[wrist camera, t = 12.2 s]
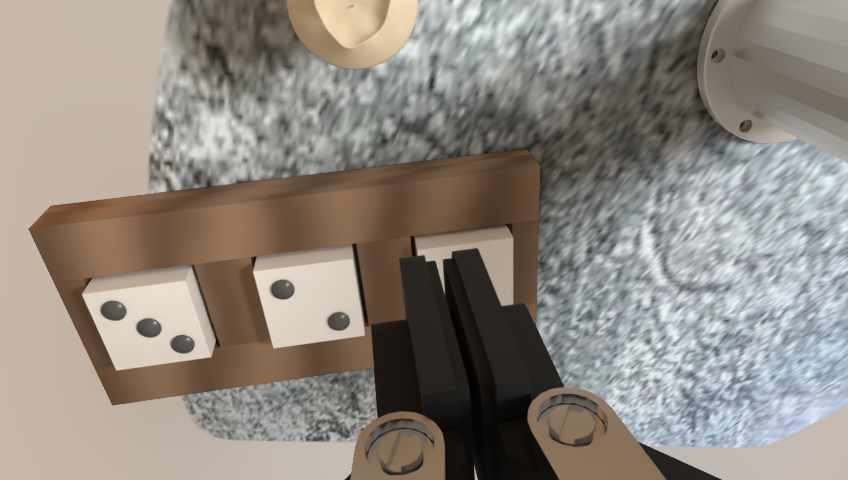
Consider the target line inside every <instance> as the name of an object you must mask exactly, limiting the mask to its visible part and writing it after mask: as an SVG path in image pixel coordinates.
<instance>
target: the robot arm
mask: <svg viewBox="0 0 848 480" xmlns="http://www.w3.org/2000/svg"><path fill="white" fill-rule="evenodd" d="M697 81H698V87H699V92H700V96H701V98H702V101H703V103H704V106H705V108H706V110H707V111H708V113H709V114H710V115H711V117H712V118H713V119H714V120H715V122H717V123H718V124H719V125H720V126H722V127H723V128H724V129H725V130H727V131H728V132H730V133H732V134H734V135H735V136H737V137H739V138H742V139H745V140H748V141H752V142H755V143H769V144H773V143H781V142H788V141H792V140H795V139H800V140H802V141H804V142H806V143H808V144H810V145H812V146H814V147H816V148H818V149H820V150H822V151H824V152H826V153H828V154H830V155H832V156H834V157H836V158H838V159H840V160H842V161H844V162H846V163H848V0H719V1H718V3H717V5H716V6H715V8H714V10H713V12H712V14H711V16H710V17H709V19H708V22H707V25H706V28H705V30H704V33H703V36H702V38H701V43H700V48H699V53H698V58H697ZM451 257H452V258H450V259H443V273H444V287H445V294H444V290H443V286H442V283H441V279H440V275H439V272H438V268H437V264H436V261H427V262H426V259H425V255H421V256H413V257H406V258H399V264H400V272H401V281H402V290H403V298H404V307H405V315H406V319H405V320H398V321H390V322H383V323H376V324H371V335H372V348H373V361H374V375H375V388H376V401H377V415H378V418H377V419H376V420H374V421H373V422H372V423H370V424H369V425H367V426H366V428H365V429H364V430H363V431H362V433H361V434H360V435H359V438H358V441H357V443H356V446H355V452H354V458H353V465H352V472H351V474H350V475H349V476H348V477H347V478H346V479H345V480H475V475H474V466H475V470H476V474H477V478H478V480H721V479H719V478H717V477H714V476H712V475H710V474H708V473H706V472H704V471H701V470H699V469H697V468H695V467H693V466H690V465H688V464H686V463H683V462H682V461H679V460H677V459H675V458H673V457H670V456H668V455H666V454H664V453H662V452H659V451H657V450H655V449H653V448H651V447H648V446H646V445H644V444H642V443H640V442H637V440H636V439H635V438H634V437H633V435H632V434H631V433H630V431H629V430H628V429H627V427H626V426H625V425H624V423H623V422H622V421H621V420H620V418H619V417H618V416H617V414H616V413H615V412H614V410H613V409H612V408H611V407H610V406H609V405H608V404H607V403H606V402H605V401H604V400H603V399H602V398H600V397H598V396H597V395H595V394H593V393H592V392H589V391H586V390H582V389H579V388H570V387H564V385H563V383H562V381H561V379H560V377H559V375H558V372H557V370H556V368H555V366H554V364H553V362H552V360H551V357H550V355H549V353H548V351H547V349H546V347H545V345H544V343H543V340H542V338H541V336H540V334H539V332H538V330H537V328H536V325H535V323H534V321H533V319H532V317H531V315H530V313H529V310H528V308H527V307H526V305H525V304H524V303H519V304H512V305H505V306H501V303H500V301H499V299H498V296H497V294H496V291H495V289H494V286H493V284H492V281H491V279H490V276H489V274H488V271H487V269H486V266H485V264H484V262H483V259H482V257H481V254H480V252H479V250H478V248H474V249H466V250H458V251H452V256H451Z"/></svg>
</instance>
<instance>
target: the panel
mask: <svg viewBox="0 0 848 480" xmlns="http://www.w3.org/2000/svg"><path fill="white" fill-rule="evenodd" d="M539 188H540V166H539V164H538V163H537V162H536V160H535V159H534V158H533V157H532V155H531V154H530V153H529V151H528V150H527V149H520V150H512V151H504V152H495V153H487V154H479V155H470V156H462V157H454V158H445V159H437V160H429V161H420V162H412V163H404V164H395V165H387V166H379V167H370V168H362V169H354V170H345V171H337V172H329V173H320V174H312V175H304V176H295V177H287V178H279V179H271V180H262V181H254V182H246V183H237V184H229V185H221V186H212V187H204V188H196V189H187V190H179V191H171V192H162V193H154V194H146V195H138V196H130V197H121V198H113V199H105V200H96V201H88V202H79V203H71V204H62V205H54V206H50V207H49V208H48V209H47V211H45V212H44V214H43V215H42V216H41V217H40V218H39V219H38V220H37V221H36V222H35V223H34V224H33V225H32V226H31V227H30V228H29V231H30V233H31V235H32V237H33V239H34V241H35V244H36V246H37V248H38V250H39V252H40V254H41V256H42V258H43V260H44V263H45V264H46V267H47V269H48V271H49V273H50V275H51V277H52V279H53V281H54V283H55V286H56V288H57V290H58V292H59V294H60V296H61V298H62V300H63V302H64V305H65V306H66V309H67V311H68V313H69V315H70V317H71V319H72V321H73V323H74V326H75V328H76V330H77V332H78V334H79V336H80V338H81V340H82V342H83V345H84V347H85V349H86V351H87V353H88V355H89V357H90V359H91V361H92V363H93V366H94V368H95V370H96V372H97V374H98V376H99V378H100V380H101V382H102V384H103V387H104V389H105V391H106V393H107V395H108V397H109V399H110V401H111V403H112V405H118V404H125V403H132V402H139V401H146V400H153V399H160V398H166V397H173V396H180V395H187V394H194V393H201V392H208V391H215V390H222V389H229V388H236V387H243V386H250V385H257V384H263V383H270V382H277V381H284V380H291V379H298V378H305V377H312V376H319V375H326V374H333V373H340V372H347V371H354V370H360V369H367V368H374V361H373V348H372V335H371V324H376V323H383V322H390V321H398V320H405V319H406V315H405V307H404V298H403V290H402V281H401V272H400V264H399V258H406V257H413V256H415V249H414V239H413V236H417V235H425V234H433V233H441V232H448V231H456V230H464V229H472V228H479V227H487V226H495V225H503V224H506V225H507V227H508V229H509V231H510V232H511V234H512V236H513V304H519V303H524V304H525V305H526V307H527V308H528V310H529V313H530V315H531V317H532V319H533V321H534V323H535V325H536V308H537V268H538V228H539ZM348 244H353V247H354V253H355V259H356V265H357V272H358V278H359V284H360V290H361V297H362V303H363V310H364V327H365V336H359V337H352V338H345V339H338V340H330V341H323V342H316V343H309V344H302V345H295V346H288V347H281V348H273V345H272V341H271V337H270V333H269V330H268V326H267V322H266V318H265V315H264V311H263V307H262V303H261V300H260V296H259V292H258V288H257V285H256V281H255V277H254V273H253V270H254V266H255V261H256V257H257V256H262V255H270V254H278V253H286V252H293V251H301V250H309V249H317V248H324V247H332V246H340V245H348ZM193 264H194V267H195V270H196V273H197V276H198V279H199V282H200V285H201V288H202V291H203V294H204V297H205V301H206V304H207V307H208V310H209V313H210V316H211V319H212V322H213V325H214V328H215V331H216V334H217V339H216V342H215V346H214V350H213V353H212V357H209V358H202V359H195V360H188V361H181V362H174V363H167V364H160V365H152V366H145V367H138V368H131V369H124V370H117V371H116V369H115V367H114V364H113V362H112V360H111V358H110V355H109V353H108V351H107V349H106V347H105V344H104V342H103V340H102V338H101V336H100V333H99V331H98V329H97V327H96V325H95V322H94V320H93V318H92V316H91V313H90V311H89V309H88V307H87V305H86V302H85V300H84V298H83V296H82V293H83V292H84V290H85V289H86V287H87V286H88V284H89V283H90V281H91V280H92V278H93V277H100V276H108V275H115V274H123V273H131V272H139V271H146V270H154V269H162V268H170V267H177V266H185V265H193Z"/></svg>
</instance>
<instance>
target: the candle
mask: <svg viewBox="0 0 848 480" xmlns="http://www.w3.org/2000/svg"><path fill="white" fill-rule="evenodd" d="M286 1H287V10H288V14H289V18H290V21H291V24H292V26H293V28H294V30H295V32H296V34H297V36H298V37H299V39H300V40H301V42H302V43H303V44H304V45H305V47H306V48H307V49H308V50H309V51H310V52H312V53H313V54H314V55H315V56H317V57H318V58H319V59H321V60H323V61H325V62H326V63H328V64H331V65H334V66H336V67H340V68H345V69H364V68H370V67H373V66H376V65H379V64H381V63H383V62H385V61H386V60H388V59H390V58H391V57H392V56H393V55H395V54H396V53H397V52H398V51H399V50H400V49H401V48H402V47H403V45H404V44H405V43H406V41H407V40H408V38H409V36H410V34H411V32H412V30H413V27H414V24H415V21H416V17H417V9H418V0H286Z"/></svg>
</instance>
